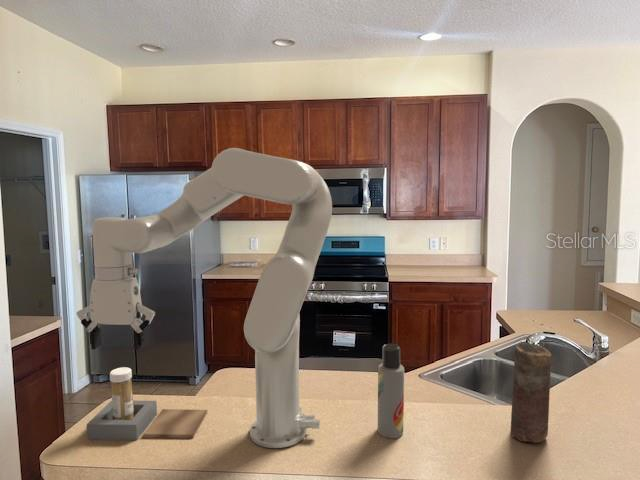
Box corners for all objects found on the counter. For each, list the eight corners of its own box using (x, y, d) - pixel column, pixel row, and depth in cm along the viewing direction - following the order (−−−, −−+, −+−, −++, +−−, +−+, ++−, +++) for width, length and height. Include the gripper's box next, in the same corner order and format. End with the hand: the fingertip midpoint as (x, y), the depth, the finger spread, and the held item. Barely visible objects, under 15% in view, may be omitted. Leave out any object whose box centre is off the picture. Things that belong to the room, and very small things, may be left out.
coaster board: (207, 412, 109) (207, 409, 109) (193, 438, 98) (192, 434, 98) (162, 412, 110) (162, 409, 109) (143, 437, 99) (143, 434, 99)
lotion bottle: (408, 431, 100) (409, 345, 98) (394, 442, 96) (395, 352, 94) (387, 422, 104) (388, 339, 102) (372, 432, 100) (373, 345, 98)
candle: (518, 423, 103) (522, 339, 101) (552, 435, 98) (557, 347, 96) (504, 436, 98) (508, 348, 96) (539, 450, 93) (544, 357, 90)
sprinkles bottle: (136, 427, 103) (133, 371, 101) (115, 433, 100) (111, 376, 99) (132, 419, 106) (129, 364, 105) (111, 424, 104) (107, 369, 102)
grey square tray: (157, 414, 109) (156, 400, 108) (137, 440, 98) (136, 424, 97) (112, 413, 109) (111, 400, 109) (87, 439, 98) (86, 424, 98)
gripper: (159, 270, 102) (161, 342, 105) (84, 269, 103) (89, 341, 105) (145, 277, 95) (148, 354, 97) (65, 276, 96) (70, 353, 98)
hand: (117, 347), depth 101 cm, fingers open, 9 cm apart
